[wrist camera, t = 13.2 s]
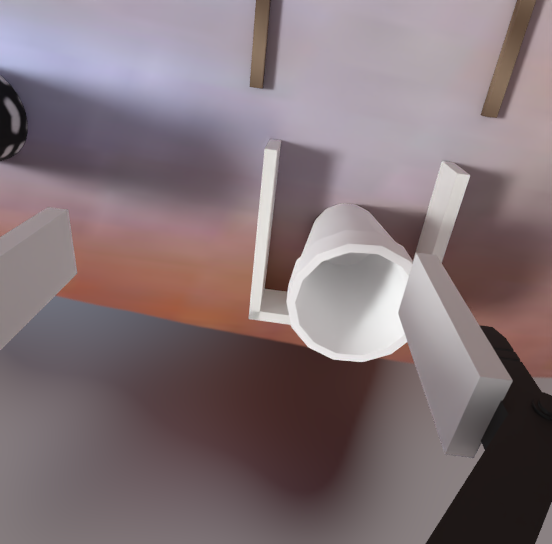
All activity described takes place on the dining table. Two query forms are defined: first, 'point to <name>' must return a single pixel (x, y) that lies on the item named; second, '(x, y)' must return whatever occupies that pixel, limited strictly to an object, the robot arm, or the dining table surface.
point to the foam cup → (349, 287)
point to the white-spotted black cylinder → (11, 121)
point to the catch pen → (431, 241)
